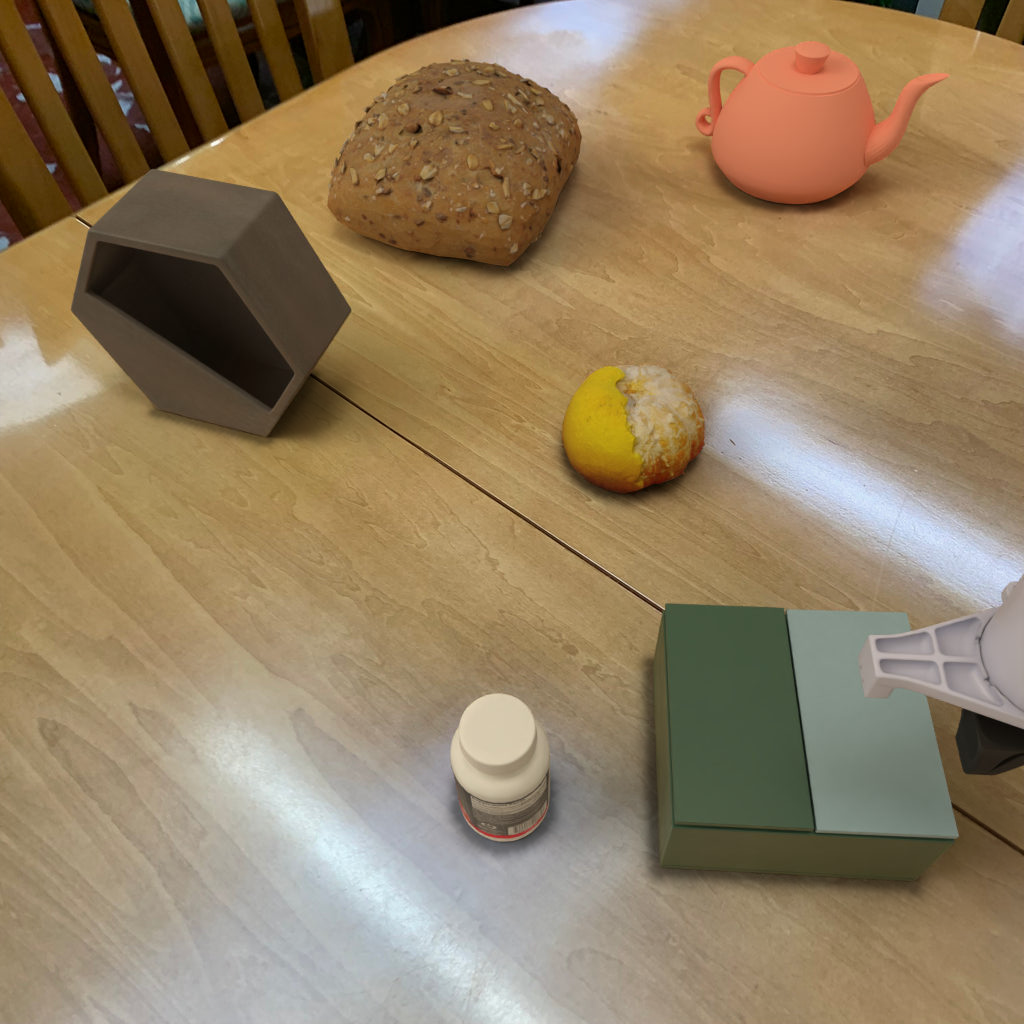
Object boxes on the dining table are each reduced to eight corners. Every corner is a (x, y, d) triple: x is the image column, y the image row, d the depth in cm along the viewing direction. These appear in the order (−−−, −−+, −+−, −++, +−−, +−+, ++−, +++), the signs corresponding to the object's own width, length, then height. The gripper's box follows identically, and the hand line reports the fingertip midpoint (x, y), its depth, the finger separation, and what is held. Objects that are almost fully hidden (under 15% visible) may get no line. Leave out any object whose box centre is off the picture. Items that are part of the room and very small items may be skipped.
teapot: (922, 158, 94) (966, 34, 85) (887, 243, 86) (931, 116, 76) (716, 113, 101) (734, -7, 91) (665, 188, 93) (679, 64, 83)
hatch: (905, 615, 54) (907, 611, 53) (956, 839, 46) (959, 836, 45) (784, 612, 54) (786, 608, 54) (815, 832, 46) (816, 830, 46)
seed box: (873, 671, 59) (908, 611, 53) (914, 881, 51) (961, 837, 45) (652, 662, 60) (664, 602, 54) (659, 867, 52) (674, 822, 46)
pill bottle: (461, 755, 56) (448, 680, 49) (549, 755, 56) (550, 679, 49) (457, 844, 53) (442, 779, 45) (550, 844, 53) (551, 778, 45)
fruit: (692, 518, 66) (670, 441, 61) (559, 509, 71) (528, 436, 66) (724, 409, 73) (708, 330, 67) (601, 407, 77) (575, 333, 72)
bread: (526, 294, 83) (523, 173, 74) (315, 249, 88) (287, 131, 79) (603, 151, 97) (609, 35, 87) (417, 120, 102) (404, 6, 92)
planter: (61, 348, 73) (99, 175, 57) (117, 288, 78) (167, 112, 61) (248, 466, 77) (332, 336, 61) (291, 403, 82) (380, 266, 66)
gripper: (1267, 526, 36) (1103, 687, 47) (885, 512, 37) (810, 674, 48) (1355, 690, 32) (1152, 826, 42) (921, 670, 33) (829, 808, 43)
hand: (973, 755), depth 45 cm, fingers closed
